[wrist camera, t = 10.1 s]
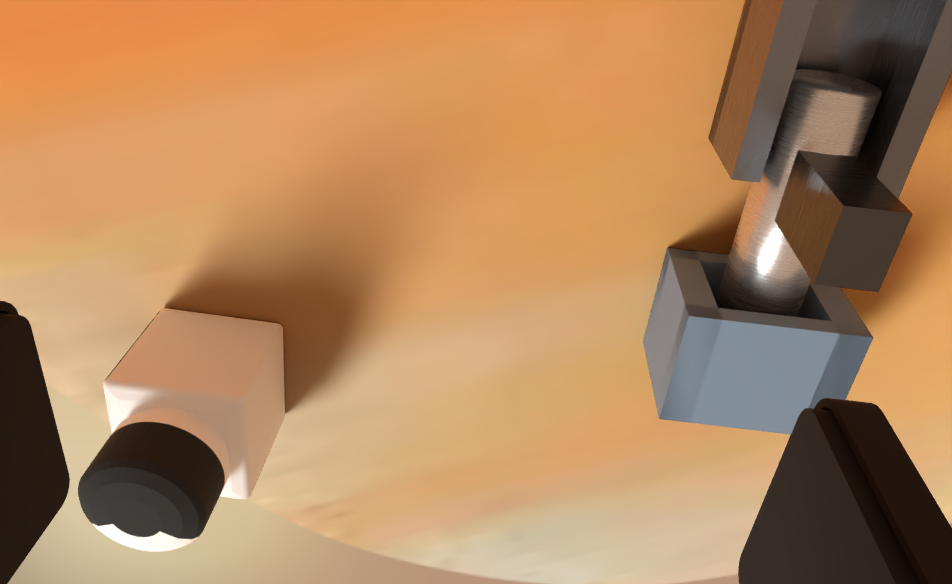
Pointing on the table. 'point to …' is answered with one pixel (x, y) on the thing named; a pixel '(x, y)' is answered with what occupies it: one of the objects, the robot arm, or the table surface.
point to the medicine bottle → (185, 427)
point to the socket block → (745, 350)
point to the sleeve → (843, 52)
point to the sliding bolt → (814, 204)
